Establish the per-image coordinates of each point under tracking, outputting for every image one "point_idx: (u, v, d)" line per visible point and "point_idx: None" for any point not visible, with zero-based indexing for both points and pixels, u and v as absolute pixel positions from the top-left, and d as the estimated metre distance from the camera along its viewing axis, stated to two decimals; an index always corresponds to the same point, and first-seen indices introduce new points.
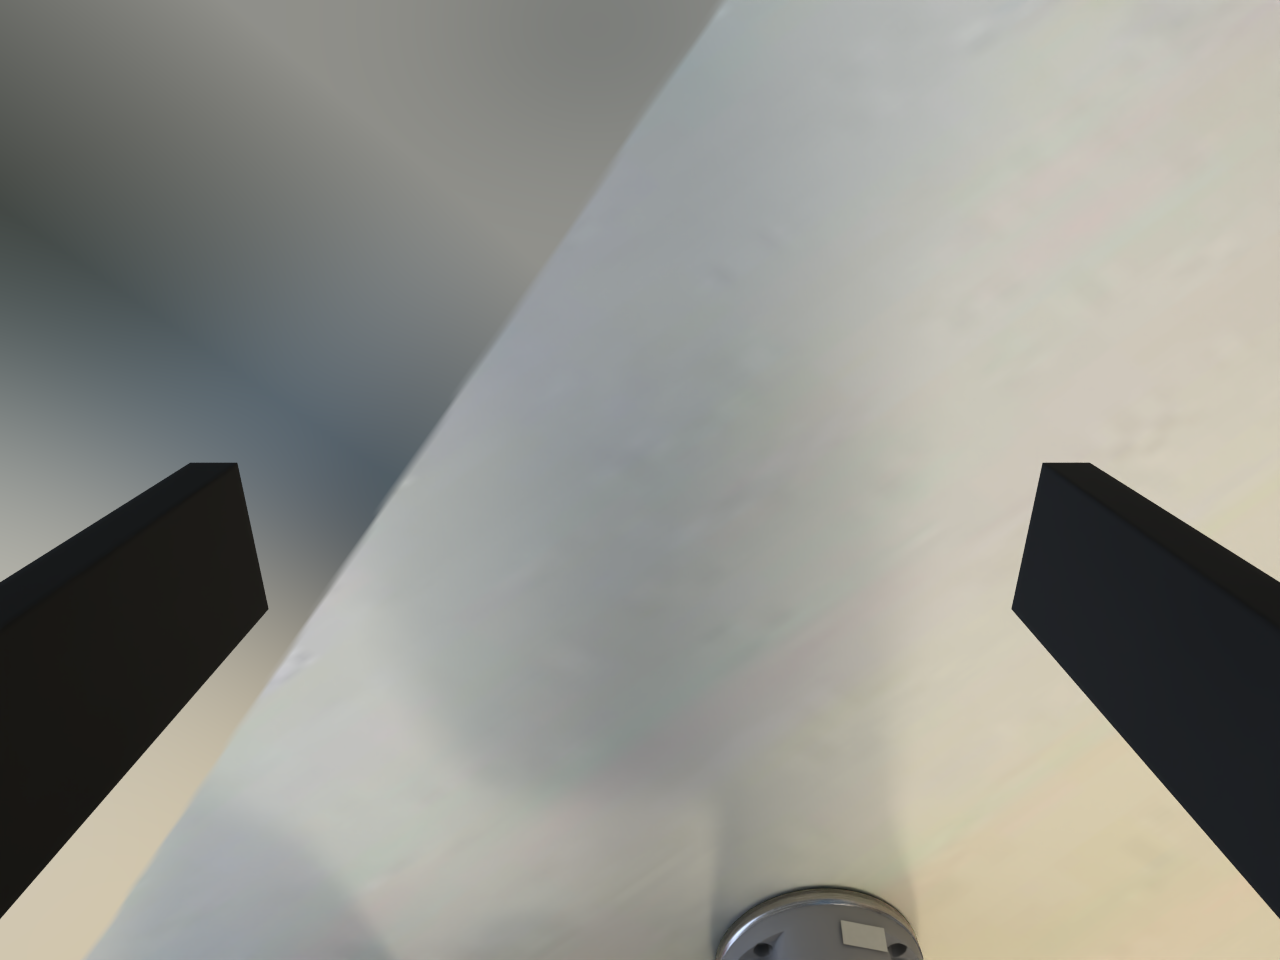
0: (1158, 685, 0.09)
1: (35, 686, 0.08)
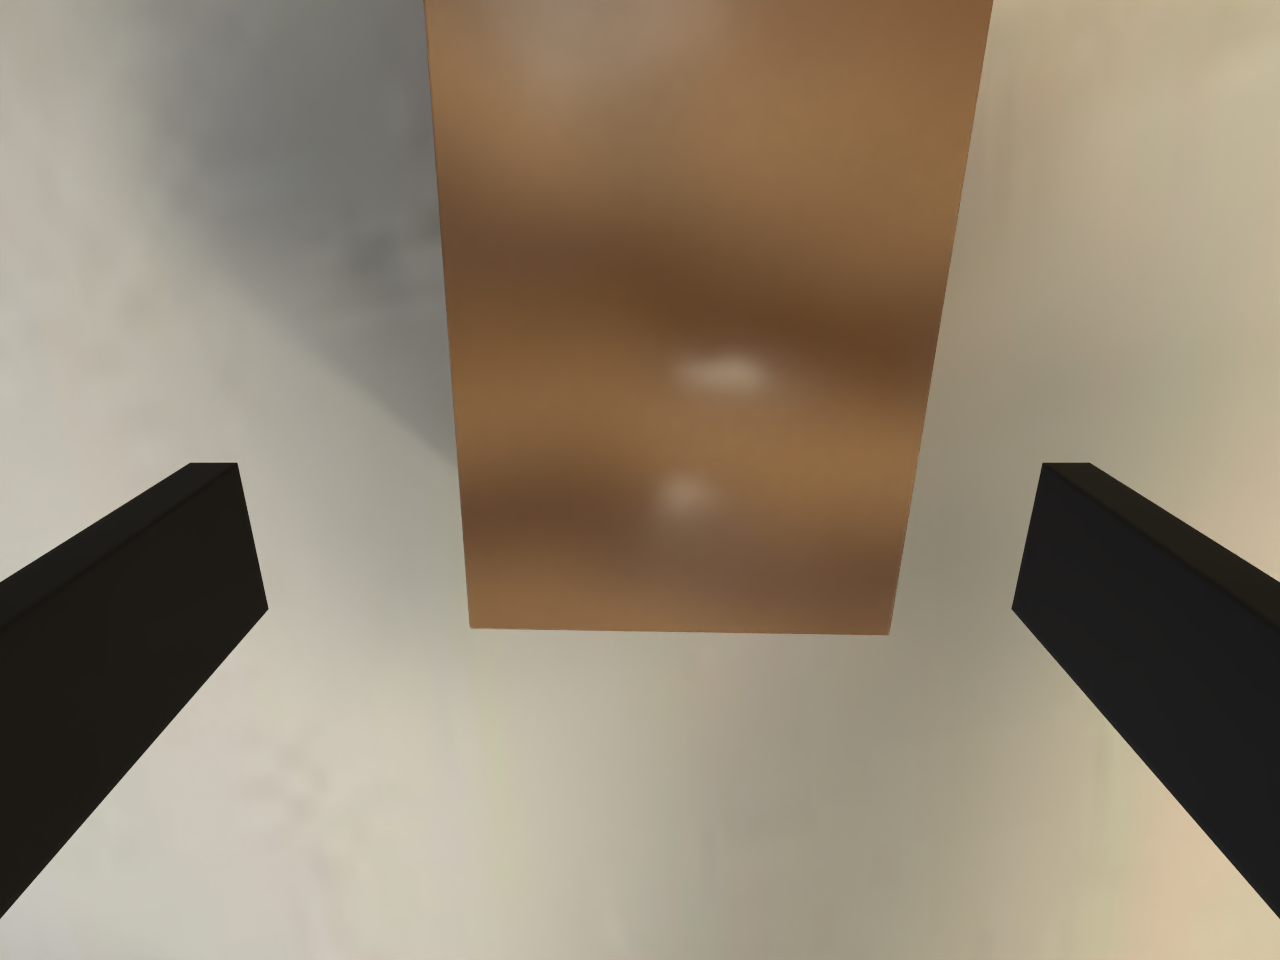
0: (1158, 685, 0.09)
1: (36, 686, 0.08)
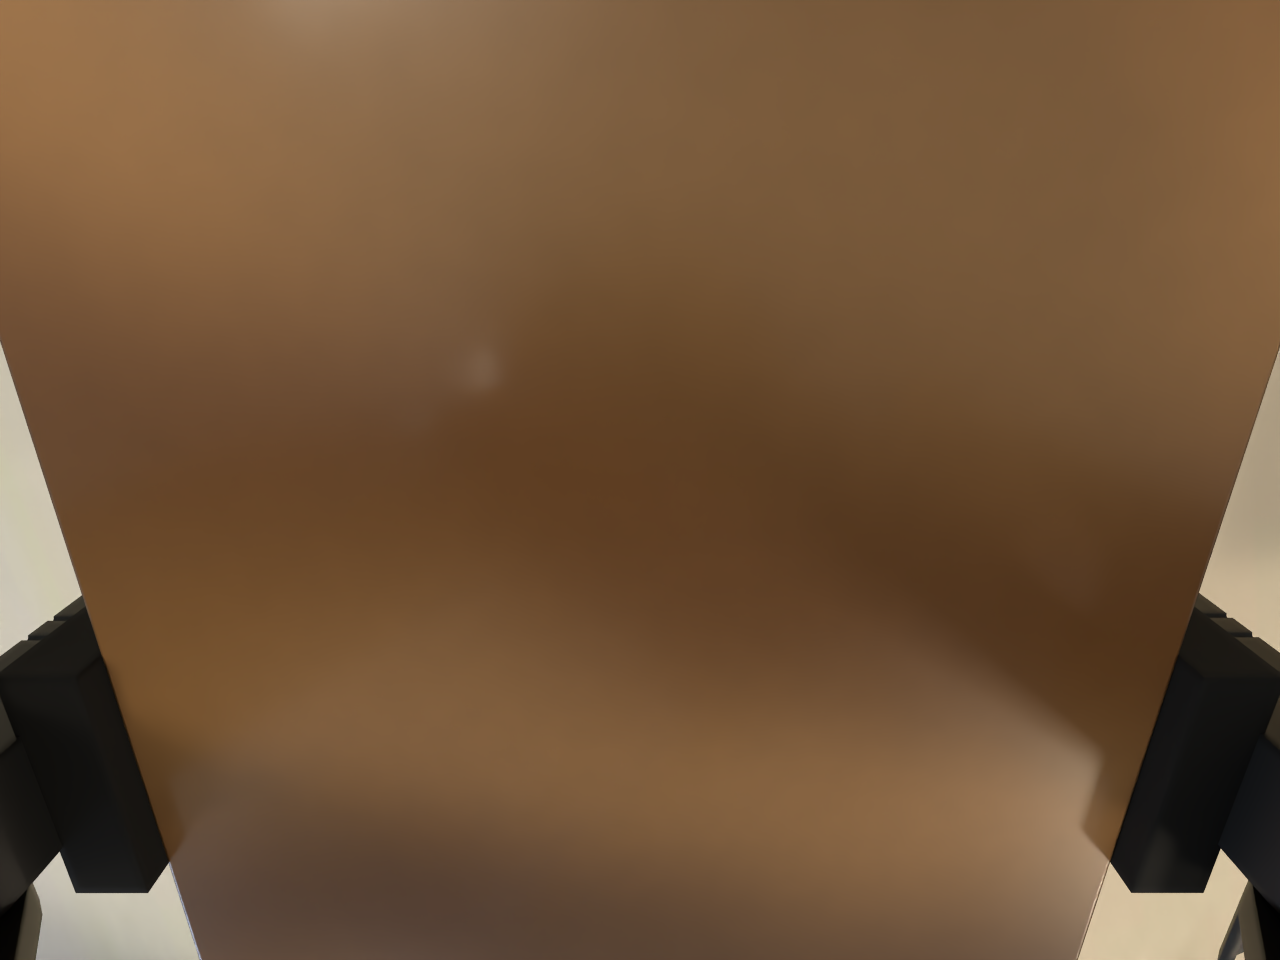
0: None
1: None
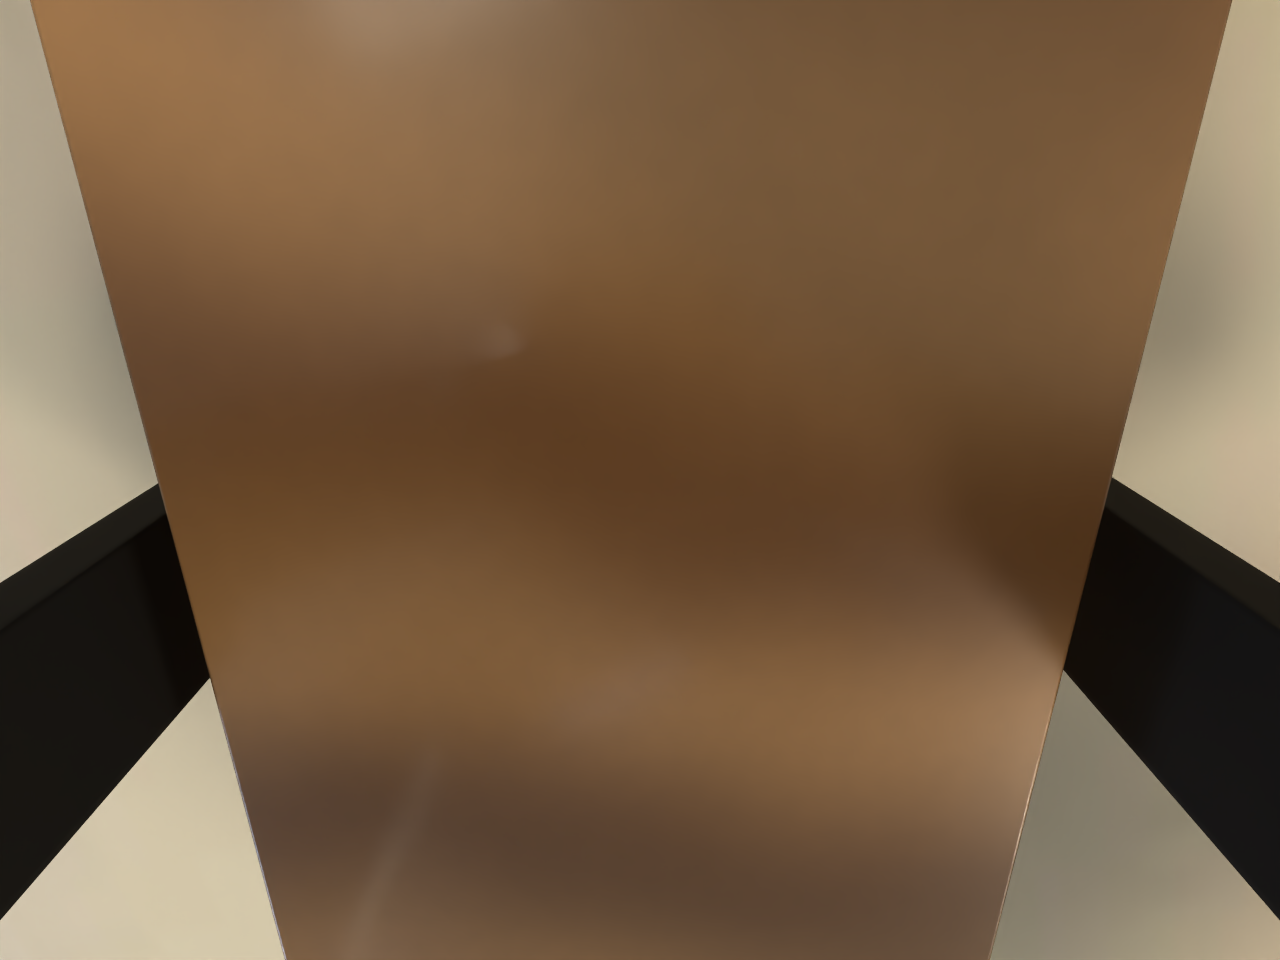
0: (1156, 685, 0.09)
1: (38, 685, 0.08)
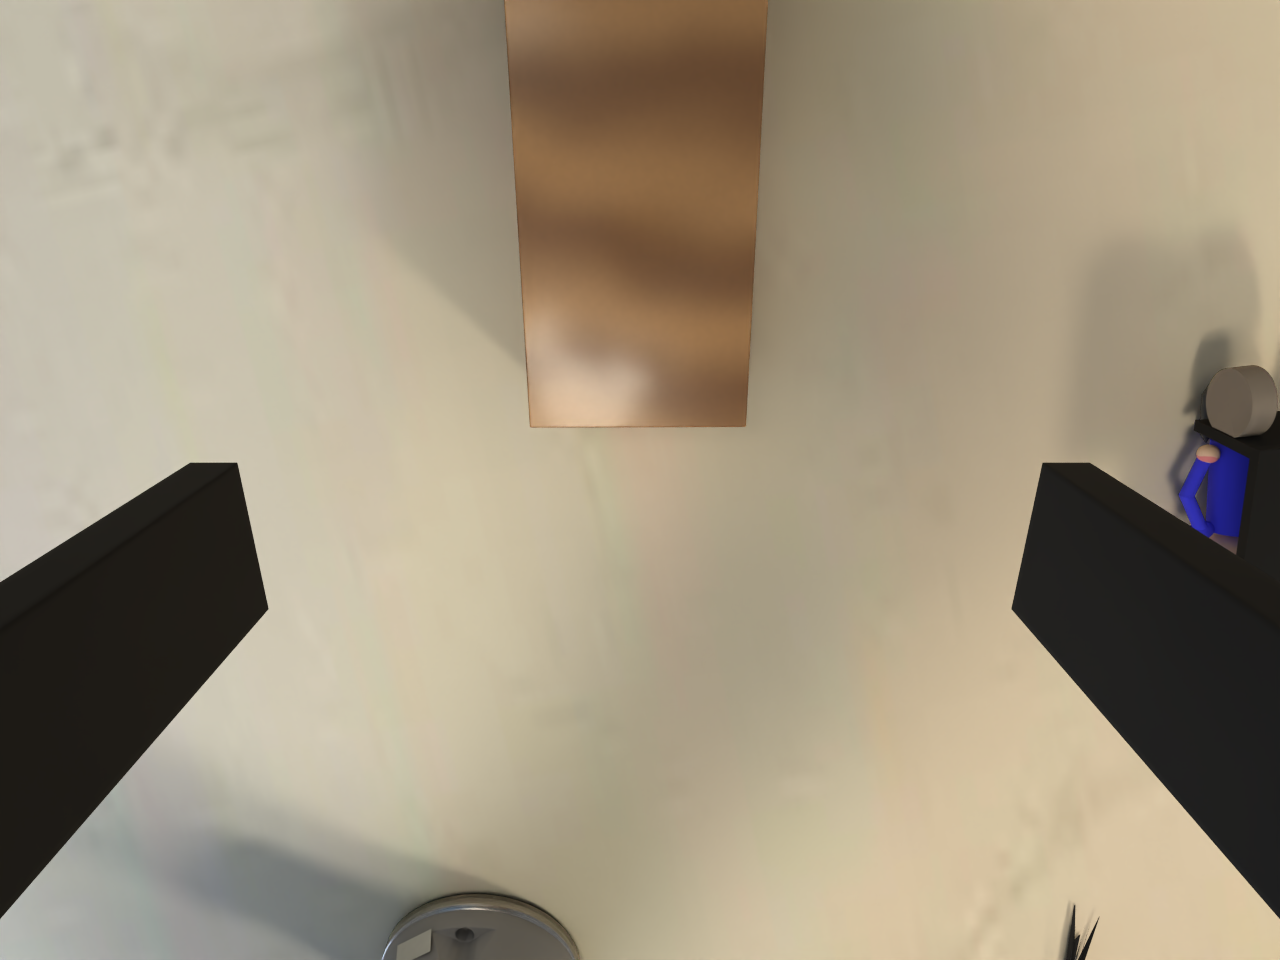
0: (1158, 685, 0.09)
1: (35, 686, 0.08)
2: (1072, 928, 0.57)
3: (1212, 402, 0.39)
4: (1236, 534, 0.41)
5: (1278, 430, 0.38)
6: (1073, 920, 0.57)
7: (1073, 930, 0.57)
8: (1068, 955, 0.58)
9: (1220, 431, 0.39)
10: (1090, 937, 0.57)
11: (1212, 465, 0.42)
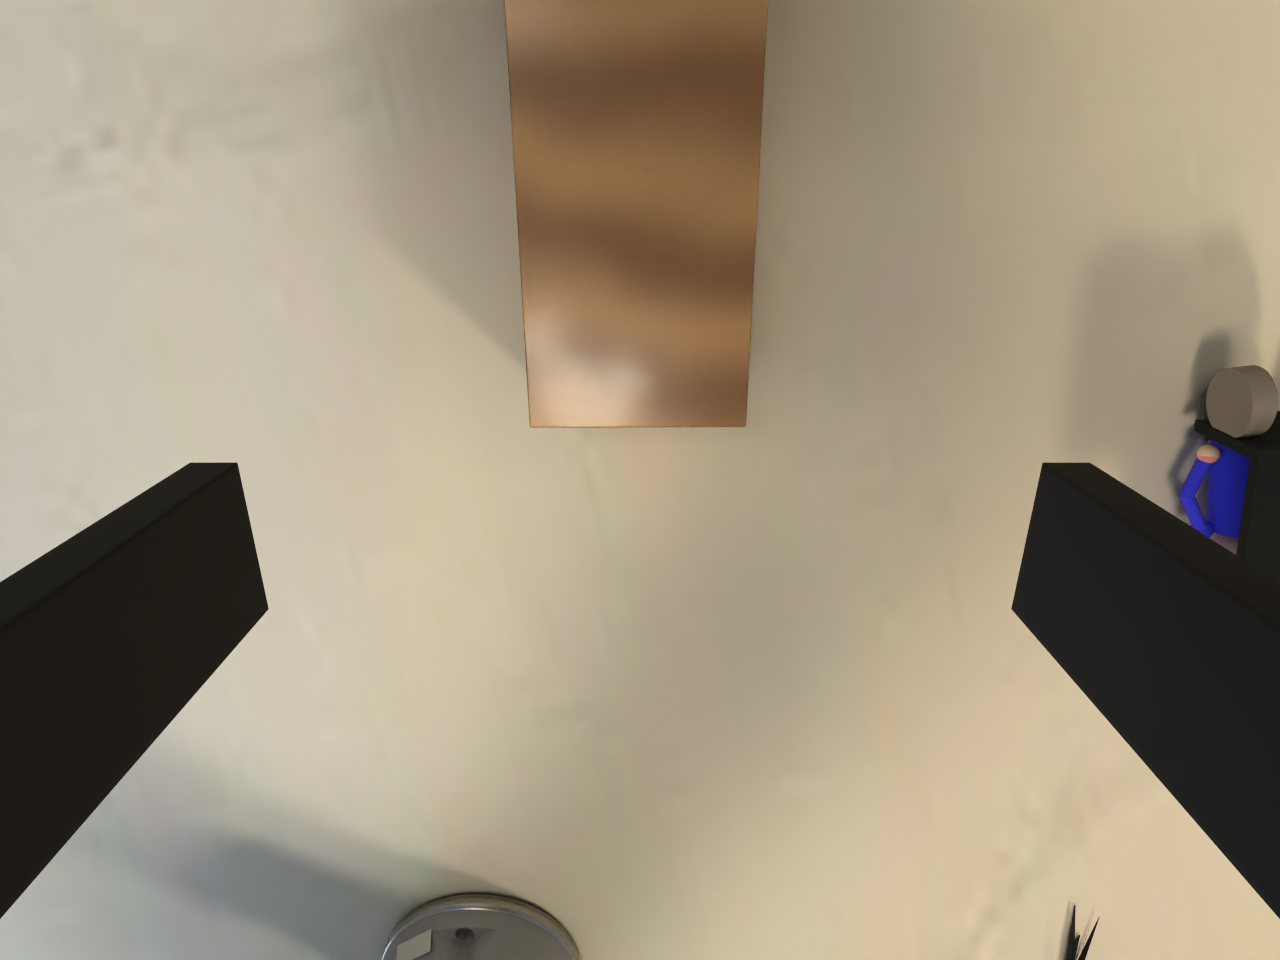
0: (1158, 685, 0.09)
1: (35, 686, 0.08)
2: (1072, 928, 0.57)
3: (1212, 402, 0.39)
4: (1236, 534, 0.41)
5: (1278, 430, 0.38)
6: (1073, 920, 0.57)
7: (1073, 930, 0.57)
8: (1068, 955, 0.58)
9: (1220, 431, 0.39)
10: (1090, 937, 0.57)
11: (1212, 465, 0.42)
